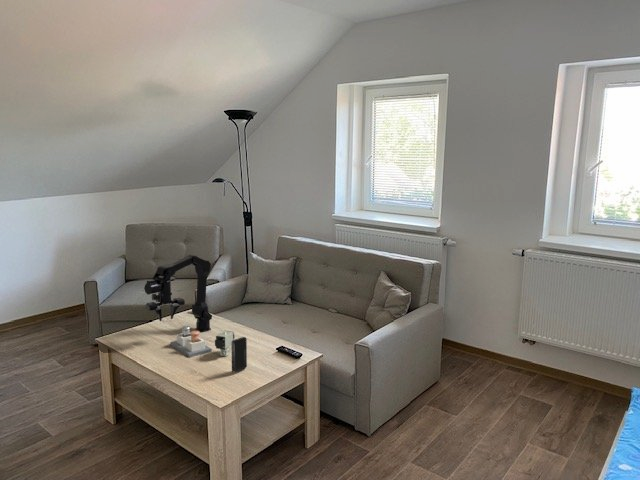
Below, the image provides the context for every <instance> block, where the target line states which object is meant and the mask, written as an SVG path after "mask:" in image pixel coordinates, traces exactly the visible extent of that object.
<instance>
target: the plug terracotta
mask: <svg viewBox="0 0 640 480" xmlns="http://www.w3.org/2000/svg"><path fill="white" fill-rule="evenodd" d="M200 333H201V332H200V331H198V330H190V335H191V342H192V343H195V342H199V338H200V337H199V335H200Z"/></svg>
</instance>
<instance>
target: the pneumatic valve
mask: <svg viewBox="0 0 640 480" xmlns="http://www.w3.org/2000/svg"><path fill="white" fill-rule="evenodd" d="M235 337H236V336H235V334H234V331H231V330H223V331H222V332H219V333H218V334H216V335H215V339H214V346H215V348H216V349H218V350H219V351H220V357H225V358H226V357H228V356H229V355H230V354H231V353H230V350H231V349H230V347H231V342H232V340H235V339H236V338H235Z"/></svg>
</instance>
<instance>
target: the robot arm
mask: <svg viewBox="0 0 640 480" xmlns="http://www.w3.org/2000/svg"><path fill="white" fill-rule="evenodd" d="M191 265H192V266H194V270H195V272H196V276H197V278H196V279H197V282H196V283H197V284H196V300H195V302H194V304H191V312H192V315H193V317H194V319H196V323H195V326H196V328H195V331H199V332H200V333H203V332H207V331H211V330H212V328H211V323H210V321H211V320H212V318H213V315H212V314H211V313H210V312H209V306H208V304H207V301H206V300H207V299H206V298H207V297H206V296H207V281H208V279H207V278H208V276H209V274H210V271H211V265H212V264H211V262H210V261H209V260H205V259H203V258H200V257H198V256H197V255H194V254H188V255H187V256H185V257H184V258H181V259H178V260H177V261H175V262H172V263H170V264H163V265H159V266H158V267H157V269H156V271H155V273H154V275H153V277H152V279H151V280H146V283H145V284H144V287H143V288H144V292H145V294H147V295H151V300H152V301H150V302H146V304H145V308H146V309H147V310H148V311H154V312H155V313H156V315H157V317H158V320H159V321H160V322H162V317H163V316H162V313H163V312H162V308H161V307H165V306H169V307H170V319H171V320H173V318H174V316H175V314H176V312H177V311H178V308H180V306H183V305H185V304H186V301H185V299H184V298H182V297H180V296H179V297H174V298H173V299H172V296H173V293H172V282H174V281H175V279H174V278H173V276H174V275H175V274H176V273H177V272H178V271H180V270H183V269H184V268H186V267H188V266H191ZM157 293H158V294H157ZM156 302H157V303H156Z"/></svg>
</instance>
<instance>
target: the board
mask: <svg viewBox="0 0 640 480" xmlns="http://www.w3.org/2000/svg"><path fill="white" fill-rule="evenodd" d="M169 345H170V346H172V348H175V349H176V350H178V351H179V352H181V353H182V354H184V355H185V356H186V357H188V358H192V357H193V358H194V357H197V356H199V355H204V354H208V353H212V351H213V349H212V348H211V347H209V346H208V345H207V344H206V341H205V340H204V339H202V337H199V342H195V343H192V342H191V335H190V336H188V337H183V336H182V333H178V334H176V340H172V341H170V342H169Z"/></svg>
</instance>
